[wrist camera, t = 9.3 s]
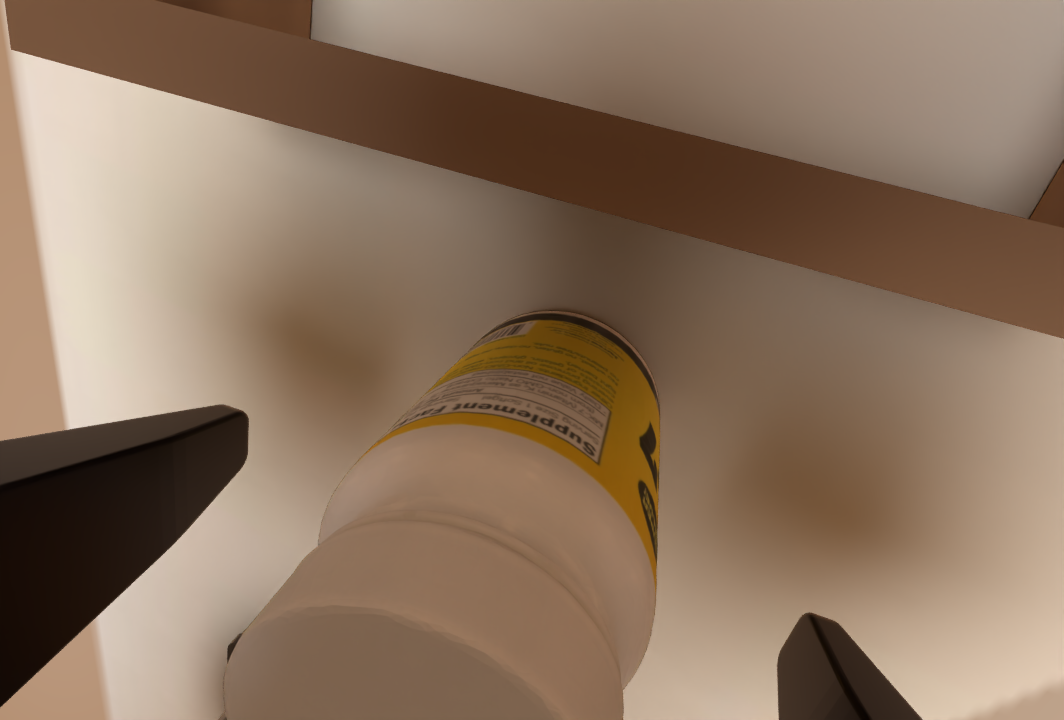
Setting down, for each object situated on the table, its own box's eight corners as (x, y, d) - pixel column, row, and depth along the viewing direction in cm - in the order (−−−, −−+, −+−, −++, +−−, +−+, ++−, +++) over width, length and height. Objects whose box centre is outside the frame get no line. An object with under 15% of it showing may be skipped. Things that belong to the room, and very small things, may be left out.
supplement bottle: (627, 514, 13) (572, 992, 6) (449, 455, 14) (189, 817, 6) (691, 338, 12) (734, 705, 4) (483, 279, 12) (169, 496, 5)
